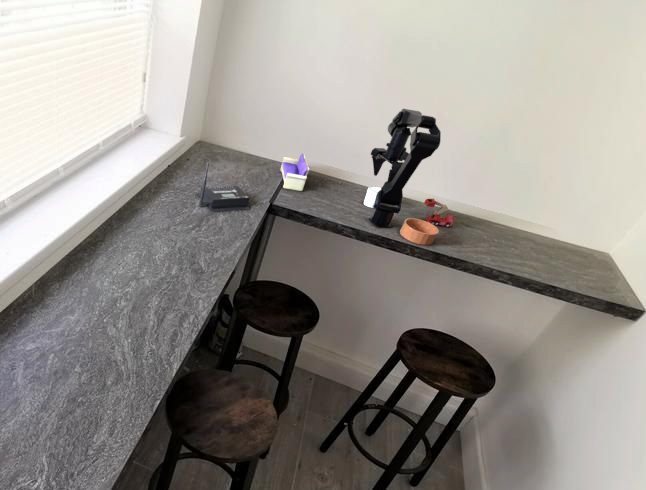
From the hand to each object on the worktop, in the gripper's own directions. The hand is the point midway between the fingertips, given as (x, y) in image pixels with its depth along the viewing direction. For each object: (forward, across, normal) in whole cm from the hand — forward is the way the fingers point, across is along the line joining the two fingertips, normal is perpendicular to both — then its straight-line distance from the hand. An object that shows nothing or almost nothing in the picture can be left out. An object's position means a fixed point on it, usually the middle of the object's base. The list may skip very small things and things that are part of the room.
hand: (381, 180), depth 200 cm
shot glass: (+11, 0, +1) cm, 11 cm away
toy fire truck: (+11, -16, -19) cm, 27 cm away
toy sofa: (+11, +22, +28) cm, 37 cm away
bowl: (+11, -26, -3) cm, 29 cm away
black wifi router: (+11, +1, +69) cm, 70 cm away
